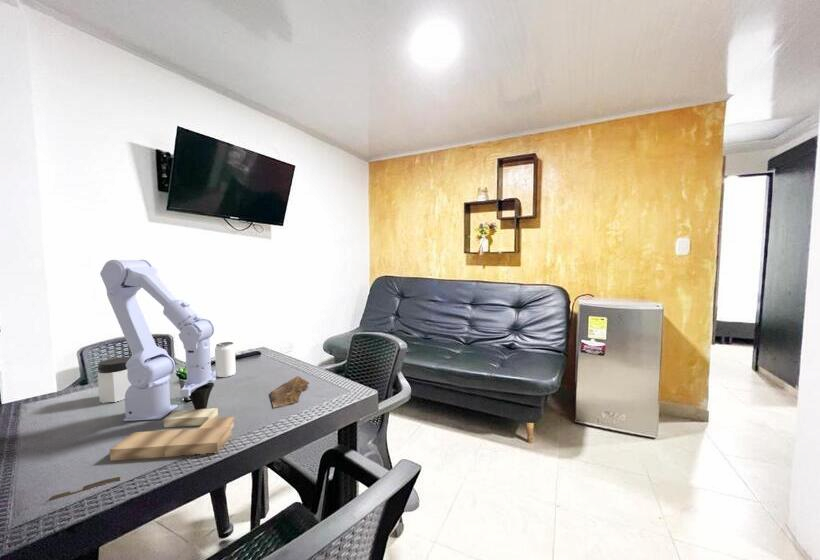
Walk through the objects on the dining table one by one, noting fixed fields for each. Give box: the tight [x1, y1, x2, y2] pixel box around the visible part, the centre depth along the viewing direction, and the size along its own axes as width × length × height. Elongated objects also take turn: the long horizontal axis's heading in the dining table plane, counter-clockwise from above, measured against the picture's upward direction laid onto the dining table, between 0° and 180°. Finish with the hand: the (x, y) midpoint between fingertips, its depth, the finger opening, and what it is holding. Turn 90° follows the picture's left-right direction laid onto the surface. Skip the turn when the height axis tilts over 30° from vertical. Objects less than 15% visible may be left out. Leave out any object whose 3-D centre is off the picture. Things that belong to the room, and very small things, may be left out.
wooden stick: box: [44, 476, 121, 503], centre depth 61 cm, size 12×3×1 cm, turn 122°
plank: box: [163, 407, 219, 428], centre depth 86 cm, size 11×5×2 cm, turn 96°
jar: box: [97, 356, 132, 403], centre depth 101 cm, size 9×8×12 cm
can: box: [214, 341, 237, 378], centre depth 121 cm, size 6×6×12 cm
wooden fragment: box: [269, 375, 309, 410], centre depth 106 cm, size 26×11×1 cm, turn 2°
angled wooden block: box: [109, 416, 235, 462], centre depth 76 cm, size 22×12×2 cm, turn 96°
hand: (201, 411), depth 90 cm, fingers closed
